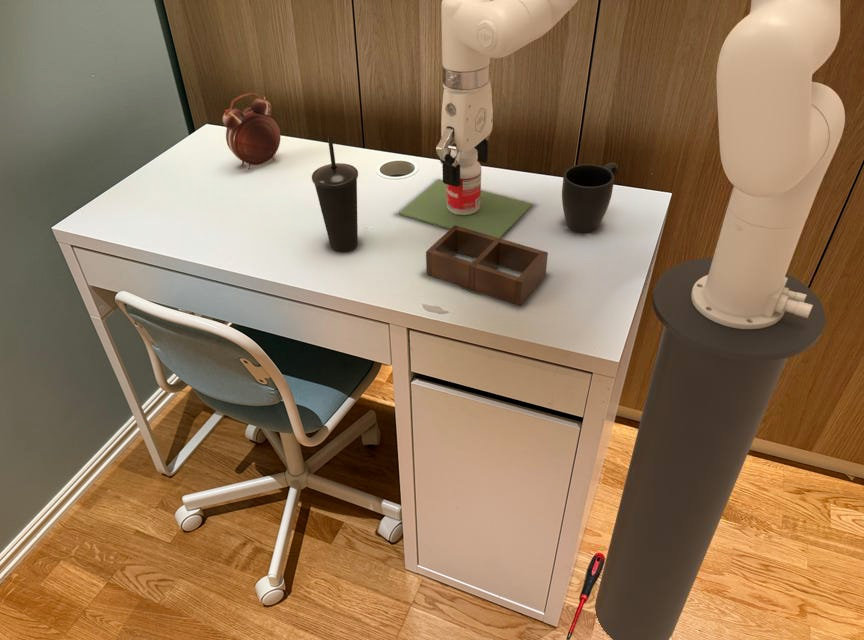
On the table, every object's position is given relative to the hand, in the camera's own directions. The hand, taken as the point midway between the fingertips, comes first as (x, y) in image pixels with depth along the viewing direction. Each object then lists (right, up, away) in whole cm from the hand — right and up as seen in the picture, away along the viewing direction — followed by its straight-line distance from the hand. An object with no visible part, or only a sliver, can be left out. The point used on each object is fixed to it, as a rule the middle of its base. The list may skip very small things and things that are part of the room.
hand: (465, 172), depth 126 cm
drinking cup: (-22, -13, 0) cm, 25 cm away
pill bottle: (0, -5, +5) cm, 7 cm away
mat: (+1, -6, +5) cm, 8 cm away
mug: (+22, -9, 0) cm, 23 cm away
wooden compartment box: (+2, -19, -10) cm, 22 cm away
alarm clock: (-41, +8, +25) cm, 49 cm away
